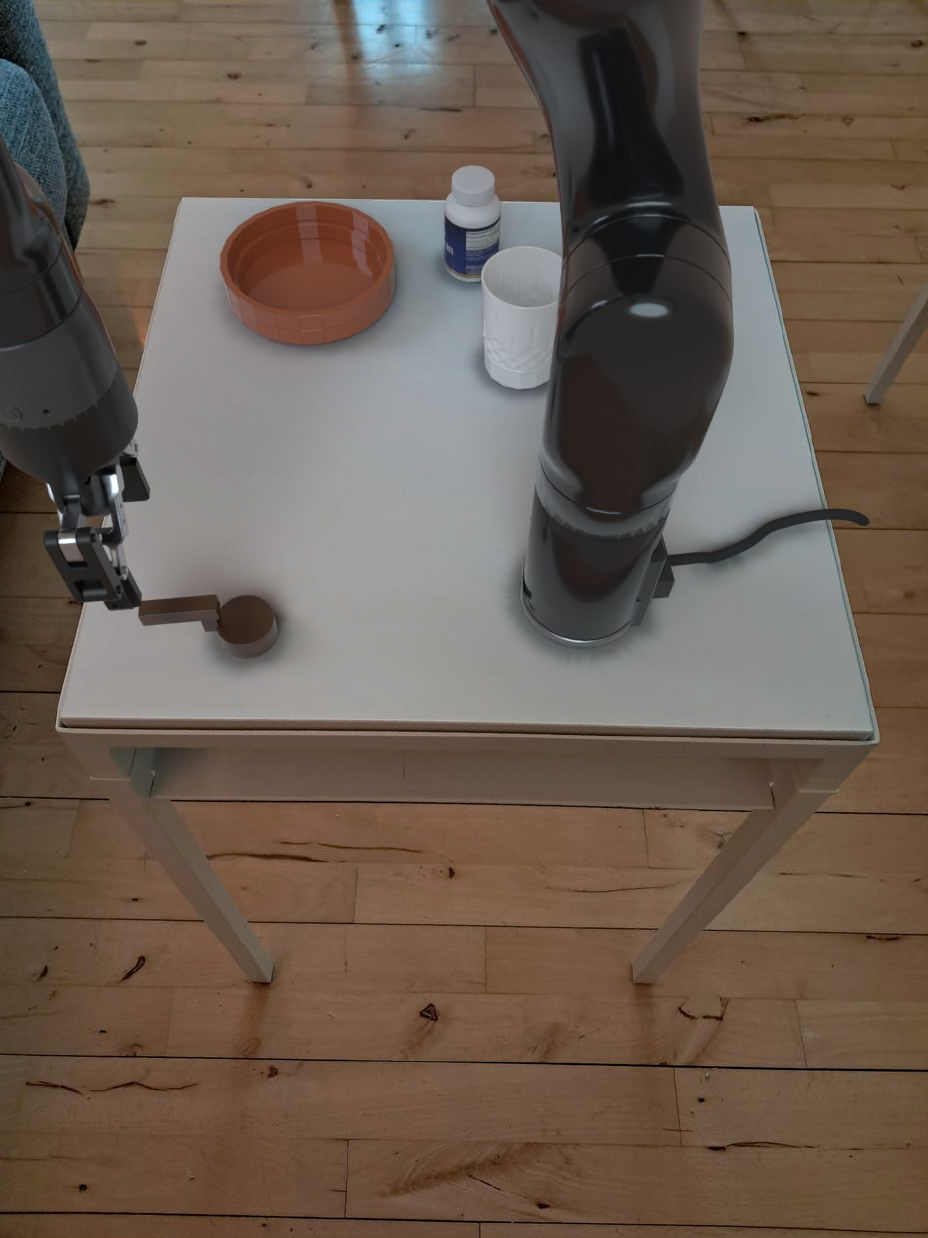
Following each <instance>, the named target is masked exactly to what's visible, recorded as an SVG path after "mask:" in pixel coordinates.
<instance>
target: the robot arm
mask: <svg viewBox="0 0 928 1238" xmlns="http://www.w3.org/2000/svg"><path fill="white" fill-rule="evenodd" d="M484 2H485V4H486V6H487V8H488V11H489V12H490V15H491V17H492V20H493V21H494V23H495V26H496V28H497V30H498V32H499V33H500V35H501V37H502V39H503V41H504V43H505V45H506V47H507V49H508V51H509V52H510V54H511V56H512V58H513V60H514V61H515V63H516V65H517V67H518V68H519V70H520V72H521V73H522V75H523V77H524V79H525V80H526V82H527V84H528V86H529V88H530V89H531V92H532V93H533V96H534V97H535V99H536V102H537V104H538V106H539V109H540V111H541V114H542V116H543V120H544V124H545V127H546V131H547V134H548V139H549V143H550V149H551V154H552V159H553V165H554V172H555V178H556V179H555V180H556V187H557V193H558V201H559V202H558V203H559V212H560V225H561V226H560V227H561V239H562V240H561V247H562V248H561V257H562V264H561V276H560V287H559V297H558V307H557V317H556V326H555V336H554V344H553V351H552V359H551V367H550V375H549V380H548V382H547V383H548V385H547V393H546V399H545V409H544V417H543V420H542V423H541V424H542V425H541V430H540V442H539V450H538V451H539V452H538V457H537V466H536V474H535V482H534V490H533V498H532V505H531V512H530V513H531V514H530V521H529V529H528V536H527V544H526V552H525V559H524V556H522V558H521V580H520V581H521V582H520V589H519V590H520V591H519V599H520V605H521V609H522V612H523V613H524V615H525V618H526V619H527V621H528V622H529V623H530V625H531V626H532V627H533V628H534V629H535V630H536V631H537V632H538V634H541V635H542V636H543V637H544V638H545V639H548V640H549V641H551V642H554V643H556V644H557V645H558V644H559V645H561V646H564V647H569V648H573V649H574V648H575V649H593V648H598V647H602V646H605V645H609V644H610V643H612V642H614V641H616V640H617V639H619V638H620V637H622V636H623V635H624V634H625V633H626V632H627V631H628V630H629V629H630V628H631V627H638V626H642V625H643V624H644V622H645V620H646V616H647V615H648V611H649V608H650V605H651V602H652V600H654V599H655V600H656V599H666V598H669V597H670V595H671V592H672V589H673V587H674V585H675V582H676V581H675V576H674V573H673V569H672V567H678V566H687V565H696V564H697V565H699V564H706V565H711V564H716V563H719V562H722V561H725V560H728V559H730V558H732V557H736V556H737V555H739V554H742V553H743V552H746V551H748V550H749V549H751V548H753V547H754V546H756V545H757V544H759V543H760V542H761V541H763V540H764V539H765V538H766V537H768V536H769V535H770V534H772V533H775V532H777V531H779V530H783V529H786V528H790V527H795V526H797V525H802V524H806V523H812V522H819V521H832V520H833V521H835V520H837V521H847V522H852V523H855V524H857V525H858V526H859V527H866V526H869V525H870V523H871V522H870V519H869V518H868V516H866V515H865V514H863V513H861V512H859V511H856V510H854V509H853V510H852V509H846V508H819V509H812V510H807V511H802V512H797V513H792V514H789V515H785V516H781V517H779V518H778V517H777V518H775V519H773V520H769V521H768V522H765V523H764V524H763V525H762V526H760V527H759V528H757V529H756V530H755V531H754V532H753V533H752V534H750V535H748V536H747V537H745V538H743V539H741V540H739V541H737V542H735V543H733V544H731V545H728V546H726V547H723V548H721V549H717V550H713V551H710V552H708V551H694V552H693V551H692V552H684V553H683V552H682V553H674V554H668V550H667V546H666V542H665V539H664V535H663V532H664V530H665V526H666V523H667V520H668V517H669V514H670V512H671V509H672V508H671V507H672V505H673V502H674V499H675V496H676V494H677V490H678V488H679V485H680V481H681V478H682V476H683V475H684V474H685V473H686V472H687V471H688V470H689V469H690V468H691V467H692V465H693V464H694V463H695V461H696V460H697V458H698V455H699V454H700V451H701V448H702V446H703V444H704V442H705V439H706V436H707V434H708V432H709V429H710V427H711V424H712V422H713V420H714V417H715V414H716V412H717V409H718V406H719V405H720V401H721V400H722V396H723V393H724V391H725V387H726V384H727V382H728V377H729V374H730V370H731V366H732V362H733V357H734V350H735V349H734V348H735V330H734V329H735V328H734V327H735V326H734V309H733V308H734V306H733V305H734V303H733V282H732V280H733V279H732V264H731V255H730V252H729V251H730V250H729V246H728V242H727V238H726V233H725V228H724V225H723V220H722V216H721V215H722V214H721V211H720V206H719V205H720V204H719V200H718V196H717V191H716V186H715V183H714V177H713V172H712V166H711V161H710V155H709V149H708V143H707V137H706V131H705V124H704V117H703V108H702V100H701V99H702V97H701V83H700V82H701V80H700V79H701V78H700V77H701V54H702V47H703V45H702V44H703V37H704V36H703V35H704V24H705V16H706V15H705V14H706V13H705V12H706V6H707V5H706V4H707V0H484ZM62 231H63V230H62V229H61V226H60V224H59V222H58V219H57V217H56V215H55V213H54V210H53V208H52V206H51V204H50V202H49V200H48V198H47V197H46V195H45V193H44V191H43V190H42V189H41V187H40V185H39V184H38V182H37V181H36V179H35V178H33V176H32V175H31V174H30V173H29V172H28V170H26V169H25V168H24V167H23V166H21V165H20V164H18V163H17V162H16V161H14V159H13V157H12V155H11V153H10V151H9V148H8V146H7V144H6V141H5V140H4V137H3V135H2V132H1V131H0V452H1V453H2V455H3V456H4V457H5V459H6V460H7V461H8V462H9V463H10V464H12V465H13V466H14V467H15V468H17V469H18V470H20V471H22V472H23V473H25V474H28V475H30V476H32V477H34V478H36V479H38V480H40V481H42V482H44V483H45V484H46V487H47V491H48V495H49V498H50V500H52V501H53V503H54V504H55V507H56V511H57V517H58V519H59V525H60V528H55V529H54V528H53V529H46V530H44V531H43V536H42V537H43V538H42V542H43V545H44V548H45V551H46V553H47V554H48V556H49V558H50V559H51V561H52V563H53V565H54V566H55V568H56V570H57V572H58V573H59V575H60V577H61V578H62V581H63V582H64V583H65V586H66V587H67V589H68V591H69V593H70V595H71V596H72V598H73V599H74V601H75V603H77V604H82V603H83V604H84V603H96V602H103V604H104V606H105V607H106V608H107V610H108V611H110V612H116V611H128V610H134V609H136V608H139V606H141V601H143V593H142V591H141V589H140V588H139V586H138V583H137V582H136V580H135V577H134V576H133V574H132V572H131V569H130V567H129V566H128V563H127V559H126V554H125V549H124V544H123V542H124V541H125V540H126V539H127V537H128V536H129V534H130V530H129V525H128V520H127V514H126V510H125V504H124V503H136V502H138V503H139V502H147V501H149V500H150V497H151V487H150V485H149V483H148V480H147V478H146V475H145V473H144V471H143V468H142V466H141V464H140V461H139V459H138V456H139V452H140V446H139V444H138V442H137V439H136V438H134V436H135V435H136V432H137V429H138V426H139V425H138V424H139V410H138V406H137V403H136V400H135V397H134V395H133V392H132V390H131V387H130V385H129V382H128V379H127V377H126V374H125V372H124V370H123V367H122V365H121V362H120V360H119V357H118V354H117V351H116V350H115V347H114V344H113V342H112V339H111V337H110V334H109V332H108V329H107V327H106V325H105V321H104V319H103V317H102V314H101V313H100V310H99V308H98V307H97V305H96V302H95V301H94V299H93V298H92V296H91V294H90V292H89V290H88V289H87V288H86V286H85V284H84V282H83V280H82V278H81V276H80V274H79V271H78V269H77V266H76V263H75V260H74V258H73V255H72V254H71V251H70V248H69V246H68V243H67V241H66V238H65V236H64V234H63V232H62ZM108 516H110V519H111V523H112V526H106V527H105V526H104V527H94V526H88V525H87V519H90V518H104V517H108ZM104 546H106V547H107V548H108V549H109V554H110V557H109V555H108V554H107V551H106V550H105V547H104ZM110 559H111V560H110ZM524 560H525V561H524ZM523 561H524V562H523ZM523 563H524V564H523ZM523 566H524V567H523ZM523 568H524V569H523Z"/></svg>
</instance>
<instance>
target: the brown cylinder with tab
mask: <svg viewBox="0 0 928 1238" xmlns="http://www.w3.org/2000/svg"><path fill="white" fill-rule="evenodd" d="M275 616H276V615H275V613H274V610H273V608H272V606H271V604H269V602H268V601H267V600H265V599H263V598H262V597H260V596H257V595H252V594H243V595H238V596H234V597H232V598H231V599H229V600H228V601H226V602H224V604H223V605H221V601H220V600H219V597H218V595H217V594H216V593H214V594H203V595H190V596H181V597H169V598H168V597H167V598H157V599H146V600H145V599H144V600H142V601H141V606H139V607H138V610H137V618H138V619H139V621H140V623H141V625H142V626H143V627H147V626H159V625H170V624H171V625H172V624H183V623H194V622H195V623H196V622H200V623H201V626H202V628H203V631H204V632H205V633H209V632H210V633H212V632H216V633H217V635H218V637H219V639H220V642H221V644H222V646H223V648H224V650H225V651H227V653H228V654H230V655H232V656H234V657H235V658H238V659H239V658H240V659H255V658H257V657H261V656H263V655H264V654H266V653H267V652H269V651H270V650H271V649H272V648H273V646H274V645H275V643H276V642H277V640H278V636H279V626H278V622H277V620H276V617H275Z"/></svg>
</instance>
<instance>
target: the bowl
mask: <svg viewBox="0 0 928 1238" xmlns="http://www.w3.org/2000/svg"><path fill="white" fill-rule="evenodd" d="M395 262H396V261H395V252H394V243H393V242H392V240H391V237H389V234H388V233H387V230H386V229H385V228H384V227H383V226H382V225H381V224H380V223H379V222H378V221H377V220H376V219H375V218H373V217H372V216H370V215H369V214H366V213H365V212H363V211H361V210H360V209H358V208H355V207H352V206H349V205H345V204H342V203H339V202H328V201H320V200H307V201H292V202H288V203H284V204H280V205H275V206H272V207H270V208H267V209H264V210H262V211H260V212H257V213H255V214H254V215H252V216H251V217H249V218H247V219H246V220H245V221H243V222H242V223H240V224H239V225H237V227H236V228H235V229H233V231H232V232H231V233H230V234H229V236H228V237H227V238H226V240H225V243H224V245H223V247H222V249H221V251H220V255H219V271H220V276H221V280H222V283H223V288H224V292H225V296H226V298H227V301H228V305H229V307H230V309H231V312H232V313H233V314H234V315H235V317H236V318H237V319H238V320H239V322H240V323H242V325H244V326H245V327H247V328H248V329H250V330H251V331H252V332H254V333H256V334H257V335H259V336H261V337H265V338H268V339H270V340H273V341H276V342H279V343H284V344H293V345H301V346H306V345H321V344H328V343H332V342H337V341H339V340H343V339H347V338H350V337H352V336H354V335H356V334H358V333H360V332H362V331H363V330H367V329H368V328H369V327H370V326H371V325H372V324H374V323H375V322H376V321H377V320H378V319H380V318H381V317H382V316H383V315H384V314H385V312H386V310H387V309H388V308H389V306H390V305H391V304H392V302H393V298H394V295H395V291H396V288H397V282H396V266H395V265H396V264H395Z"/></svg>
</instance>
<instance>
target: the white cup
mask: <svg viewBox="0 0 928 1238" xmlns="http://www.w3.org/2000/svg"><path fill="white" fill-rule="evenodd" d="M561 264H562V255H559V254H558V253H556V252H555V251H552V250H550V249H547V248H544V247H540V246H534V245H517V246H512V247H508V248H505V249H502V250H499V252H498V253H496V254H494V255H493V256H492V257H490V258H489V259H488V260H487V262H486V263H485V265H484V267H483V269H482V273H481V281H480V284H481V322H482V323H481V324H482V325H481V326H482V327H481V328H482V340H483V347H484V350H483V351H484V367H485V369H486V371H487V373H488V375H489V376H490V378H491V379H492V380H494V381H495V382H497V383H498V384H500V385H501V386H503V387H506V388H511V389H516V390H527V389H535V388H537V387H539V386H541V385H543V384H545V383H548V382H549V375H550V367H551V359H552V351H553V344H554V336H555V326H556V317H557V307H558V297H559V287H560V276H561Z"/></svg>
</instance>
